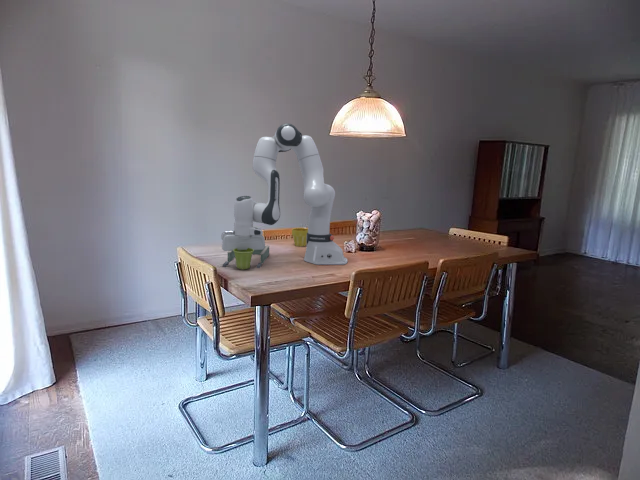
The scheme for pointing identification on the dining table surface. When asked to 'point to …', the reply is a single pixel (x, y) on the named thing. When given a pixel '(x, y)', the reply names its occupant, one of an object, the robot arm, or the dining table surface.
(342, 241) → the dining table surface
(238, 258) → the plant pot
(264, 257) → the green u-shaped frame
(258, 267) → the strips
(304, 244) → the plant pot
